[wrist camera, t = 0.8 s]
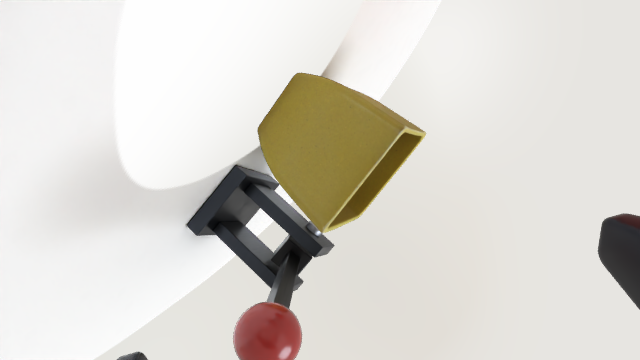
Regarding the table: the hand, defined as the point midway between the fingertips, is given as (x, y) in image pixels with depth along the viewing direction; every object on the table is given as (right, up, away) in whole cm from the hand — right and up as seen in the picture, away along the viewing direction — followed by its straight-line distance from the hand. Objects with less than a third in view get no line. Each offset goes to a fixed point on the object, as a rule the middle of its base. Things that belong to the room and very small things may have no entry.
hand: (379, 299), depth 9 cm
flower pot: (-4, +8, +27) cm, 28 cm away
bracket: (-8, +1, +31) cm, 32 cm away
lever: (-5, -3, +21) cm, 22 cm away
